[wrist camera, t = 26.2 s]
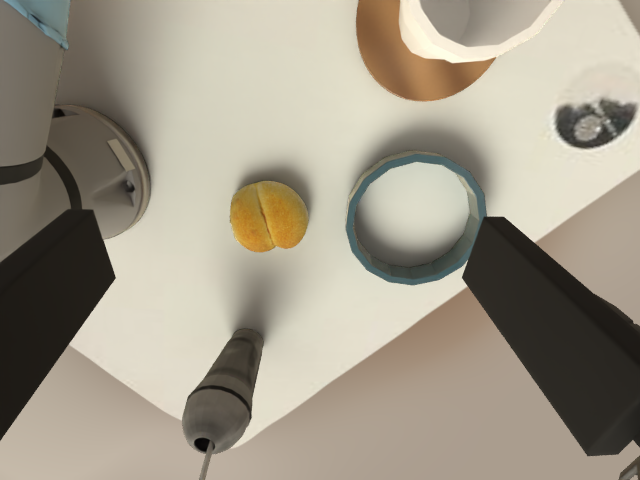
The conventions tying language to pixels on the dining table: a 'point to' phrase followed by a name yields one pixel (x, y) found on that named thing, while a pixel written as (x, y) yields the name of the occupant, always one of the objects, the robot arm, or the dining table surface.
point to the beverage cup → (224, 397)
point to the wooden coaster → (407, 57)
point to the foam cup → (471, 26)
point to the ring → (442, 264)
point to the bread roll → (268, 216)
